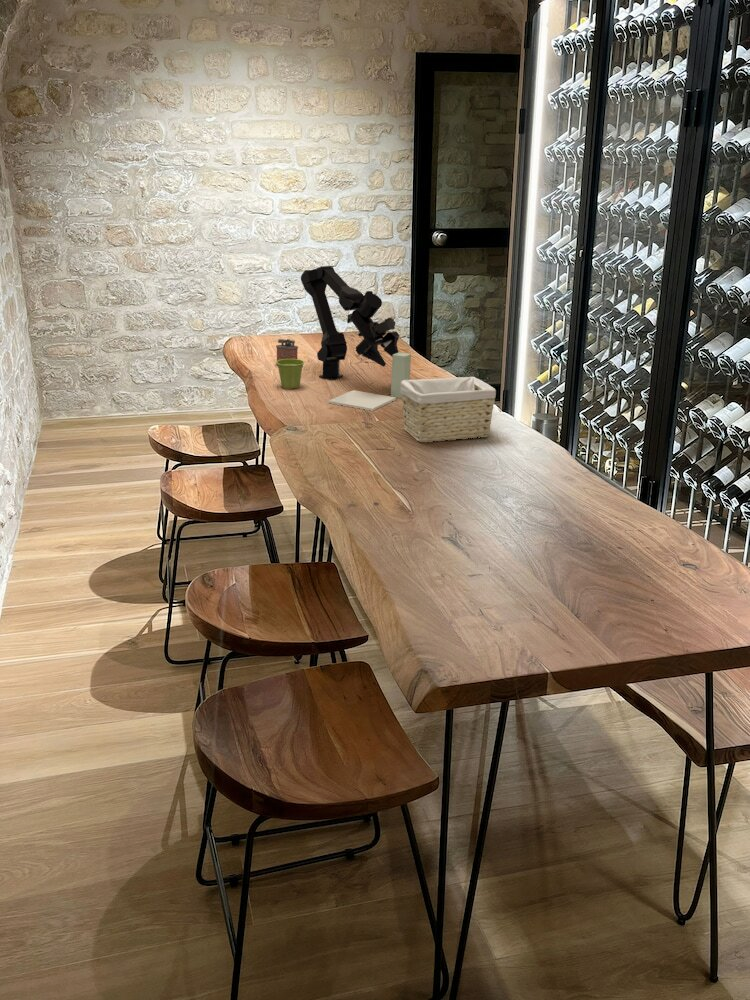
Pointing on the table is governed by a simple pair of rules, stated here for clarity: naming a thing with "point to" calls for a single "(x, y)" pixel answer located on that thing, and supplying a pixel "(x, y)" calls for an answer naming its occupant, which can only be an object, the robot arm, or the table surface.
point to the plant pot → (290, 372)
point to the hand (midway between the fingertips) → (392, 363)
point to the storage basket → (447, 408)
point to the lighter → (286, 349)
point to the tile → (362, 400)
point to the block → (399, 372)
